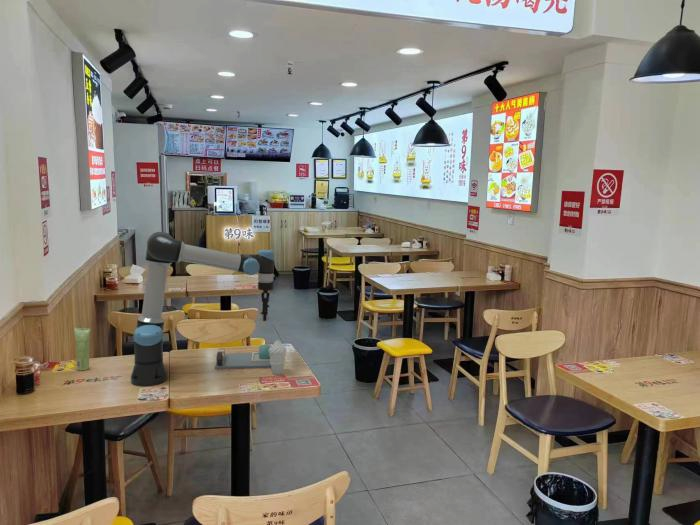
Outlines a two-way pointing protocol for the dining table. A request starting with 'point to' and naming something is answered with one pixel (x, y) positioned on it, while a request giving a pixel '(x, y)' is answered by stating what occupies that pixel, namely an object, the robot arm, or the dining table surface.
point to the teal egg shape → (264, 352)
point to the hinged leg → (220, 356)
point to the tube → (82, 348)
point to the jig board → (243, 361)
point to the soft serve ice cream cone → (277, 357)
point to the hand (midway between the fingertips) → (264, 323)
